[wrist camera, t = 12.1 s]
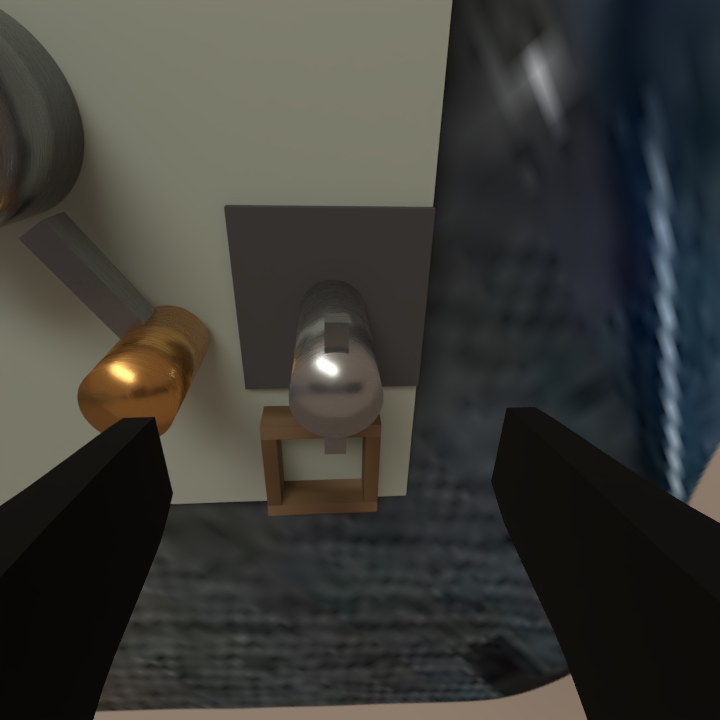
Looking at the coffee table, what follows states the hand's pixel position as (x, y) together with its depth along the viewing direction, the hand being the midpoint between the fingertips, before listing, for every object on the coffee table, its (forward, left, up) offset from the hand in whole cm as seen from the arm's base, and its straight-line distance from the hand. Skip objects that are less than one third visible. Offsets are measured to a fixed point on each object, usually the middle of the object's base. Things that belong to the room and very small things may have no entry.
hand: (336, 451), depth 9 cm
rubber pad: (0, 0, -9) cm, 9 cm away
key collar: (0, -7, -9) cm, 11 cm away
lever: (-7, 0, -8) cm, 10 cm away
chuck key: (0, 0, -8) cm, 8 cm away
